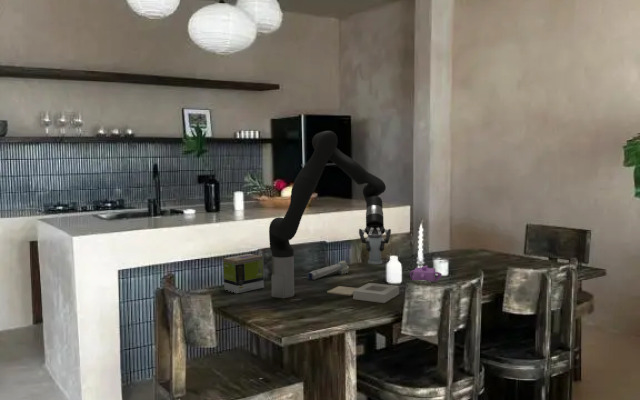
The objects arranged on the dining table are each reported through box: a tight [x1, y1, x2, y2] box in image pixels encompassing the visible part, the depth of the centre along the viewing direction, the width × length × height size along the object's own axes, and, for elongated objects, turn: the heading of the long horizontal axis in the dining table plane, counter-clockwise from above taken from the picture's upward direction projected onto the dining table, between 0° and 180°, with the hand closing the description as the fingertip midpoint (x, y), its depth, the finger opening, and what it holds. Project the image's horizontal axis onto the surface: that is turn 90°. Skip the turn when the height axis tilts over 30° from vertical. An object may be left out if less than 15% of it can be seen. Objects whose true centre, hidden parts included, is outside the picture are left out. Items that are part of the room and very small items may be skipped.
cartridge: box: [367, 234, 383, 265], centre depth 252 cm, size 6×6×12 cm
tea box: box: [222, 253, 265, 294], centre depth 269 cm, size 15×10×15 cm, turn 131°
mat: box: [326, 285, 359, 297], centre depth 264 cm, size 11×11×1 cm
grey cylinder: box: [306, 260, 350, 281], centre depth 294 cm, size 5×7×25 cm
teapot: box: [409, 264, 443, 282], centre depth 266 cm, size 18×14×10 cm
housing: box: [352, 282, 400, 304], centre depth 254 cm, size 16×14×4 cm
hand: (375, 250), depth 251 cm, fingers closed on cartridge, 4 cm apart
